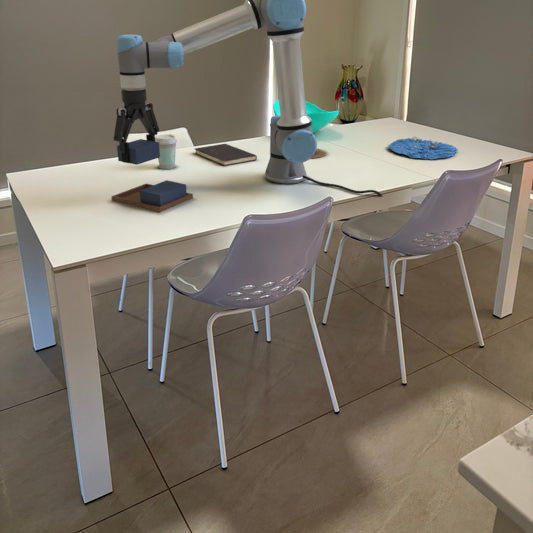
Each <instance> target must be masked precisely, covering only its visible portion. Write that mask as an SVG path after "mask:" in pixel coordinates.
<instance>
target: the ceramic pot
mask: <svg viewBox="0 0 533 533" xmlns="http://www.w3.org/2000/svg"><path fill="white" fill-rule="evenodd" d="M315 138H316V136H315ZM316 139H317V138H316ZM326 155H327V152H326V151H324V150H322V149H321V148H320V149H319V148H316V151H315V153H314V155H313V156H312V157H311V158H310V159H317V158H321V157H325V156H326Z"/></svg>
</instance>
